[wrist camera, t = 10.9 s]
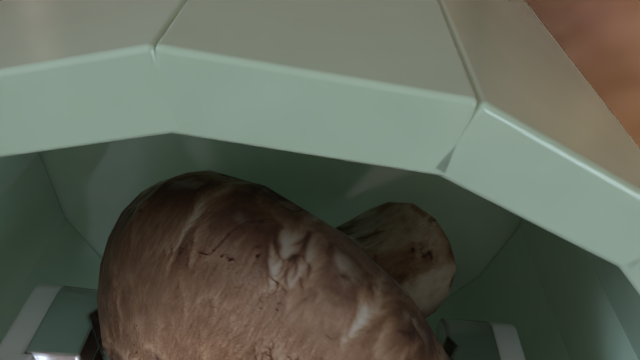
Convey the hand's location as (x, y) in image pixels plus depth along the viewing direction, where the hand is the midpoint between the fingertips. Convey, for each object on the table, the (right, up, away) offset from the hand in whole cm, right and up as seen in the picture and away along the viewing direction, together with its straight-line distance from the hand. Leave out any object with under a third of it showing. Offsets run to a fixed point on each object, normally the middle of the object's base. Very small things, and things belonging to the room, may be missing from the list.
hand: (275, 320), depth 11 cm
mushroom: (0, +2, +2) cm, 2 cm away
